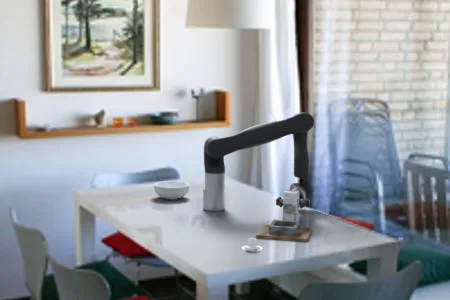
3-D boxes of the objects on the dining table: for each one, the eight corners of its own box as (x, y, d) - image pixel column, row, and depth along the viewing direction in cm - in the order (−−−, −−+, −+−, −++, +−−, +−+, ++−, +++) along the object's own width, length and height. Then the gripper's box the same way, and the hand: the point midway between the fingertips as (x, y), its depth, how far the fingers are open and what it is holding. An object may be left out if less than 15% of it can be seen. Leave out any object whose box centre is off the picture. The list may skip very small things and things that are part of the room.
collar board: (255, 238, 284) (256, 227, 283) (264, 227, 301) (264, 217, 301) (306, 241, 279) (307, 231, 279) (312, 230, 297) (312, 220, 296)
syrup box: (298, 223, 307) (299, 190, 305) (295, 226, 302) (296, 192, 300) (285, 222, 309) (286, 189, 307) (282, 225, 304) (283, 191, 302)
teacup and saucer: (252, 254, 263) (252, 243, 263) (235, 250, 269) (235, 239, 268) (267, 249, 270) (267, 238, 269) (250, 245, 275) (251, 234, 274)
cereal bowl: (150, 201, 348) (150, 186, 347) (159, 194, 364) (159, 180, 363) (184, 202, 345) (184, 188, 344) (192, 195, 362) (192, 181, 361)
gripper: (280, 188, 320) (274, 195, 304) (312, 190, 317) (308, 197, 301) (279, 205, 321) (273, 213, 305) (312, 207, 318) (307, 215, 302)
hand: (290, 205), depth 303 cm, fingers open, 8 cm apart
